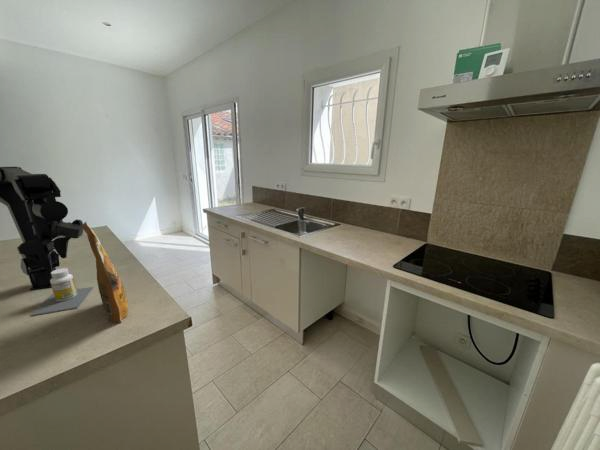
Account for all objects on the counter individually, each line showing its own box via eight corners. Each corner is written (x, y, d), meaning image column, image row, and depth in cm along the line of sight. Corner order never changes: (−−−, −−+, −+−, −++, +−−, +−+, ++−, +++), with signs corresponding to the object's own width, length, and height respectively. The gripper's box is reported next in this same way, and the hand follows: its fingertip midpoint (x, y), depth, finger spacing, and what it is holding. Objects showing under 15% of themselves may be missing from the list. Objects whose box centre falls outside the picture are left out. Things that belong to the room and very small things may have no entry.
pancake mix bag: (101, 332, 66) (76, 235, 59) (101, 299, 81) (82, 218, 73) (130, 322, 70) (111, 230, 62) (126, 293, 85) (110, 215, 77)
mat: (30, 316, 72) (30, 315, 72) (53, 293, 84) (53, 292, 84) (77, 308, 76) (77, 307, 76) (93, 287, 88) (92, 286, 88)
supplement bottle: (64, 292, 83) (57, 267, 81) (81, 292, 84) (74, 266, 81) (50, 302, 78) (42, 275, 76) (69, 301, 79) (61, 274, 76)
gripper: (62, 221, 68) (76, 272, 72) (88, 208, 84) (98, 249, 89) (8, 225, 64) (26, 278, 68) (47, 210, 80) (59, 254, 85)
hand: (57, 263), depth 78 cm, fingers open, 9 cm apart
